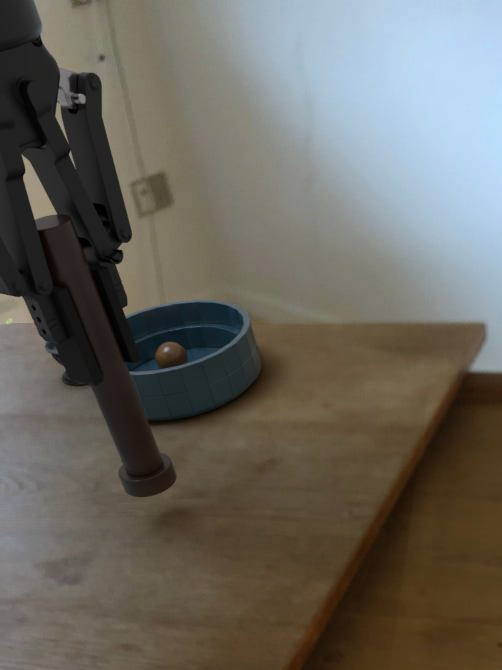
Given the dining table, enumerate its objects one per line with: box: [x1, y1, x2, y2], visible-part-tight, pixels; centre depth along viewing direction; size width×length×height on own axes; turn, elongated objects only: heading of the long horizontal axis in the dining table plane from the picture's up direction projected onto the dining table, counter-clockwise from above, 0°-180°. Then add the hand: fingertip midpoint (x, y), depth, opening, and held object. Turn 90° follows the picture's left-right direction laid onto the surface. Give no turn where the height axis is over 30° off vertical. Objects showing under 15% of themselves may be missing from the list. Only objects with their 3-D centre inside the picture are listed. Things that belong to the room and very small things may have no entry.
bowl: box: [125, 299, 263, 422], centre depth 90 cm, size 15×15×5 cm
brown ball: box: [155, 342, 188, 369], centre depth 92 cm, size 3×3×3 cm
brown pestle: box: [35, 213, 178, 498], centre depth 67 cm, size 4×4×20 cm
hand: (105, 368), depth 67 cm, fingers closed on brown pestle, 3 cm apart
